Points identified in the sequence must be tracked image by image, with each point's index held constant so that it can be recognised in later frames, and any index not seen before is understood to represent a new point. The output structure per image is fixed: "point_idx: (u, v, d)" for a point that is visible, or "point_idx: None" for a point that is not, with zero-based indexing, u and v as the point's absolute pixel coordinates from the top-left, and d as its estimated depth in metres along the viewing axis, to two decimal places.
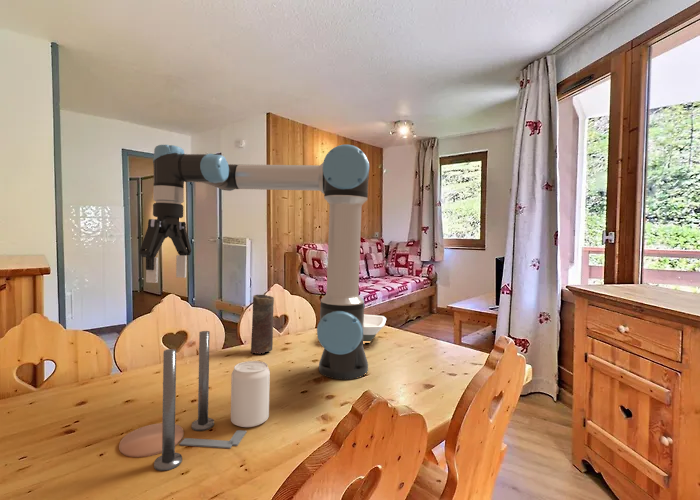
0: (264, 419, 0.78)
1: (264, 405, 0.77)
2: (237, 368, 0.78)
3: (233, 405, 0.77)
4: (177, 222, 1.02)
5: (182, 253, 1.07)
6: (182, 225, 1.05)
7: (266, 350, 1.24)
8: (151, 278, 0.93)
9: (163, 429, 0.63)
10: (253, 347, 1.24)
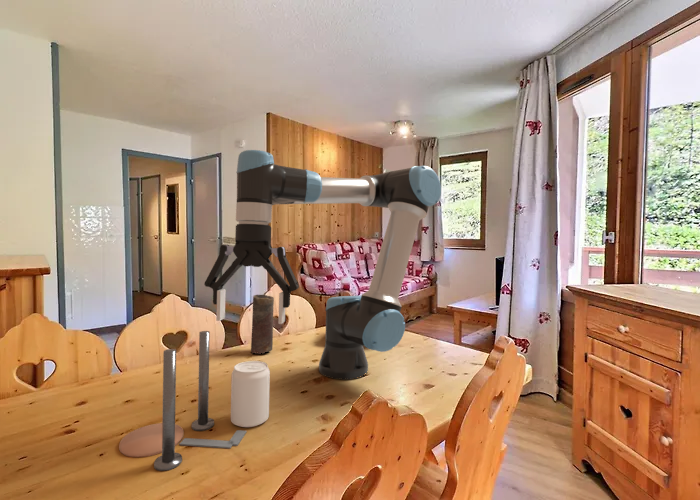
0: (264, 419, 0.78)
1: (264, 405, 0.77)
2: (237, 368, 0.78)
3: (233, 405, 0.77)
4: (263, 248, 0.77)
5: None
6: None
7: (266, 350, 1.24)
8: None
9: (163, 429, 0.63)
10: (253, 347, 1.24)
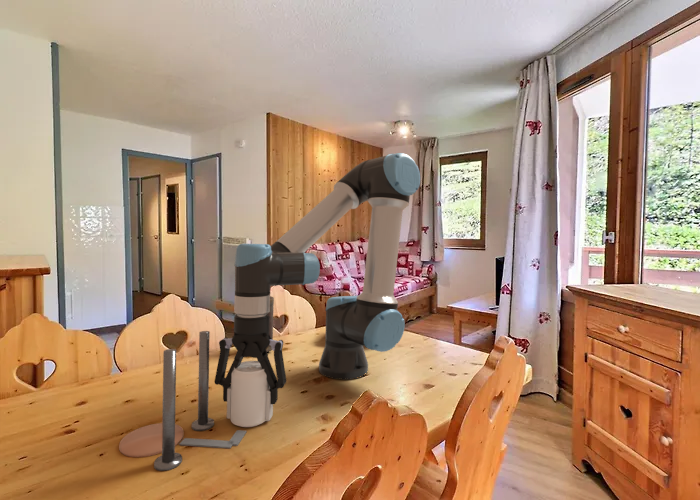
0: (264, 419, 0.78)
1: (263, 405, 0.77)
2: (237, 368, 0.78)
3: (233, 405, 0.76)
4: (262, 338, 0.78)
5: None
6: (275, 346, 0.78)
7: (266, 350, 1.24)
8: None
9: (163, 429, 0.63)
10: None
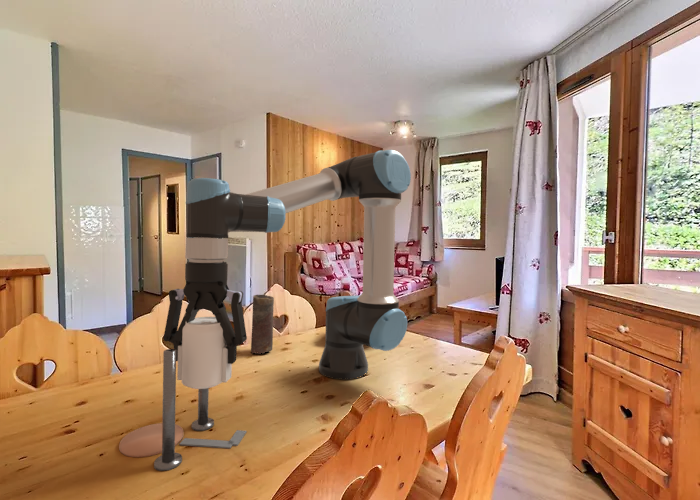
0: (220, 380, 0.68)
1: (219, 364, 0.67)
2: (189, 322, 0.68)
3: (183, 363, 0.66)
4: (218, 288, 0.68)
5: None
6: None
7: (266, 350, 1.24)
8: None
9: (163, 429, 0.63)
10: (253, 347, 1.24)
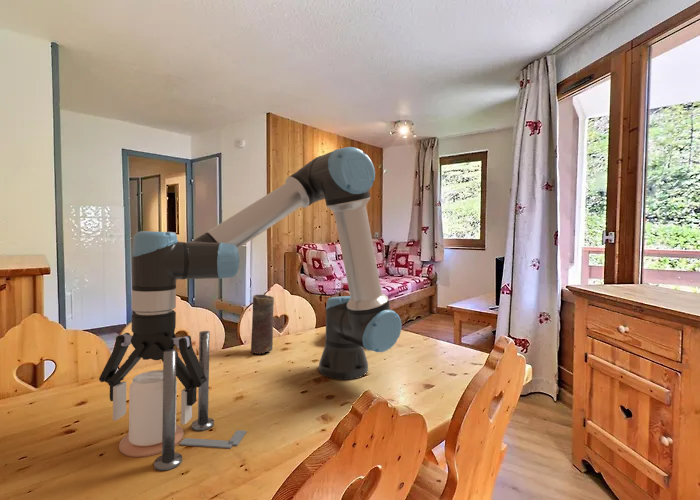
0: None
1: None
2: (137, 379, 0.69)
3: (129, 421, 0.68)
4: (163, 339, 0.69)
5: None
6: None
7: (266, 350, 1.24)
8: None
9: (163, 429, 0.63)
10: (253, 347, 1.24)
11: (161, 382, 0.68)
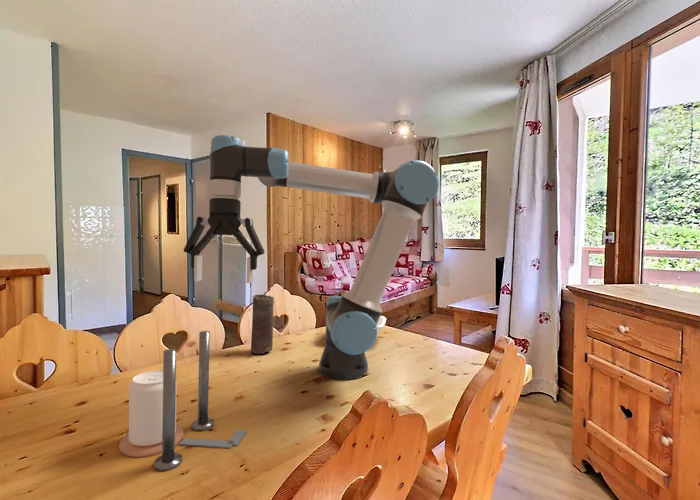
0: None
1: None
2: (137, 379, 0.69)
3: (129, 421, 0.67)
4: (233, 218, 0.91)
5: None
6: None
7: (266, 350, 1.24)
8: None
9: (163, 429, 0.63)
10: (253, 347, 1.24)
11: (161, 382, 0.68)
